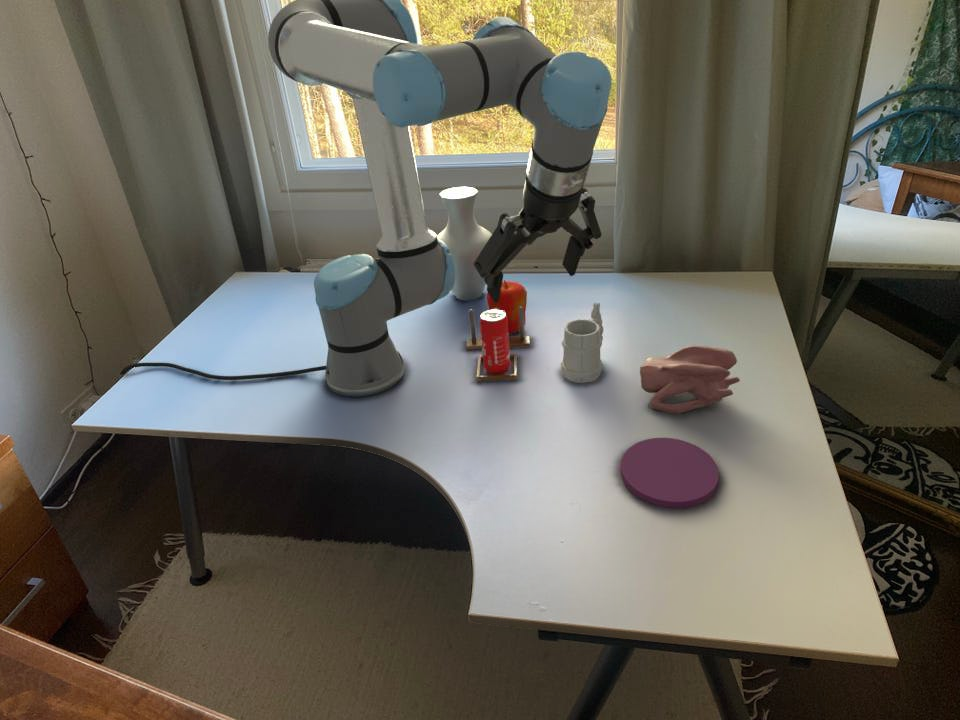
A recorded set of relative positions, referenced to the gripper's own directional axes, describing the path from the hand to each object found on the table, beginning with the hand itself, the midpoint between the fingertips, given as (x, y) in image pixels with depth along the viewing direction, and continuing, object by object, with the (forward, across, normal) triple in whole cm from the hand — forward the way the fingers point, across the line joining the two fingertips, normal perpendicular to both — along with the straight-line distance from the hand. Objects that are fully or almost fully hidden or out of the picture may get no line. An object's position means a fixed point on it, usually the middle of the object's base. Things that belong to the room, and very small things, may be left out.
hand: (531, 282), depth 98 cm
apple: (+34, +7, +12) cm, 37 cm away
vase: (+44, +6, +30) cm, 54 cm away
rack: (+29, -1, +4) cm, 29 cm away
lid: (+10, +7, -34) cm, 36 cm away
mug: (+24, +12, -7) cm, 28 cm away
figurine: (+17, +22, -22) cm, 35 cm away
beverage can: (+28, -2, +1) cm, 28 cm away
